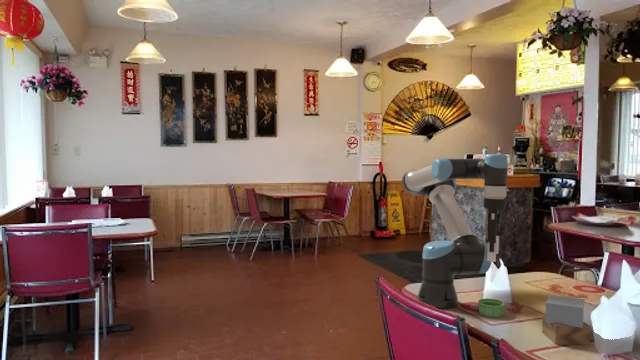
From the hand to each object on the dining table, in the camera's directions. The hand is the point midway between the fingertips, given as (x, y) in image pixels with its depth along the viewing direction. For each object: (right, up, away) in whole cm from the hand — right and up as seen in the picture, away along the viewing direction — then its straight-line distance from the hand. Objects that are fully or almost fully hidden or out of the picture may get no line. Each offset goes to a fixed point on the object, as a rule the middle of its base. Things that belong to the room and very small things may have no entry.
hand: (493, 257), depth 172 cm
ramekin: (0, -21, +1) cm, 21 cm away
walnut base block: (+14, -22, -22) cm, 34 cm away
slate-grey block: (+14, -16, -22) cm, 31 cm away
